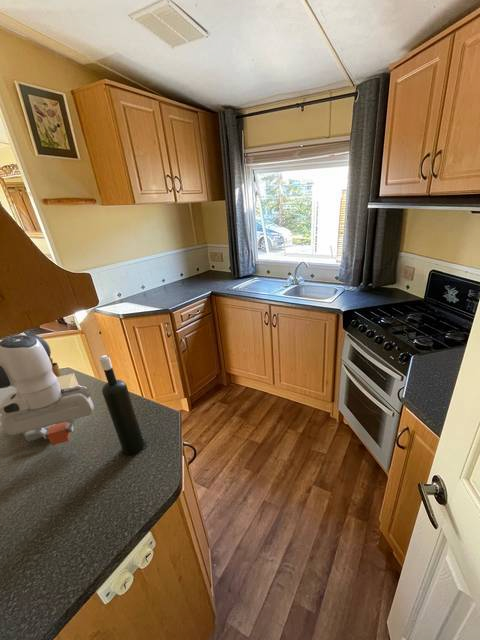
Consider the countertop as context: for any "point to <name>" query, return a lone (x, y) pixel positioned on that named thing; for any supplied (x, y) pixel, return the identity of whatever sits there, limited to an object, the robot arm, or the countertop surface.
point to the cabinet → (67, 381)
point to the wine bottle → (121, 410)
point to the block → (58, 433)
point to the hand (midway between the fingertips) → (59, 434)
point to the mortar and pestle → (55, 368)
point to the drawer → (33, 435)
